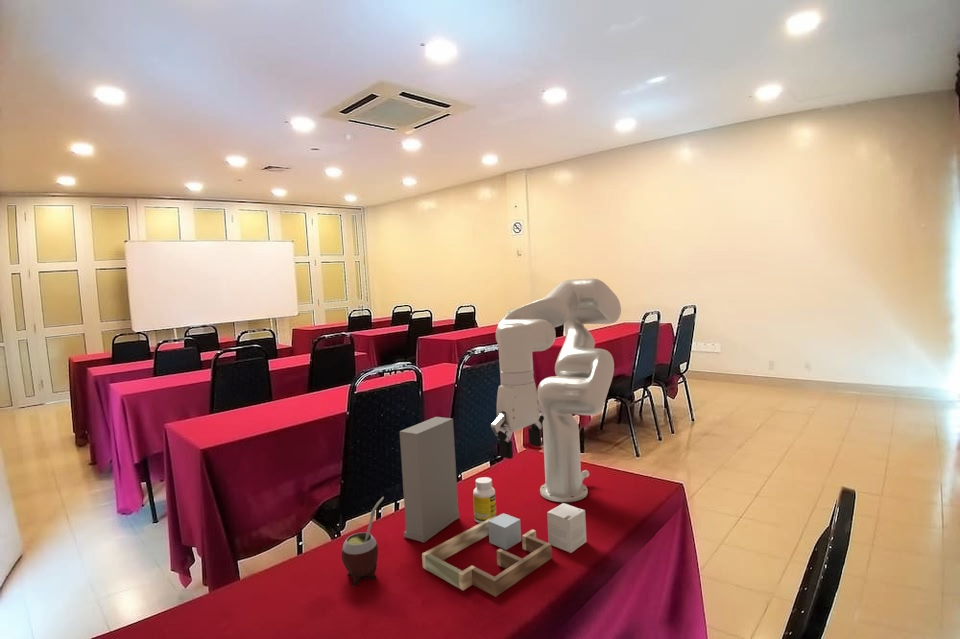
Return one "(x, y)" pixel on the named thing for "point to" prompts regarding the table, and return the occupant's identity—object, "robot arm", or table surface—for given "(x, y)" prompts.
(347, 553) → the mate gourd
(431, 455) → the tall upright grey box
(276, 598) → the table surface
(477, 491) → the supplement bottle
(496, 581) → the box
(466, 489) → the table surface
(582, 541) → the skincare box
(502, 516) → the block
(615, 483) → the table surface
